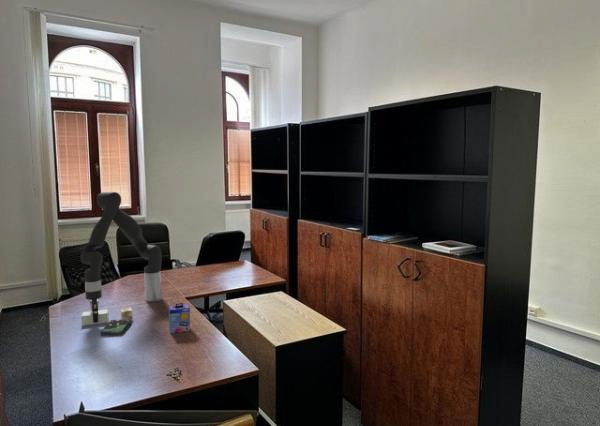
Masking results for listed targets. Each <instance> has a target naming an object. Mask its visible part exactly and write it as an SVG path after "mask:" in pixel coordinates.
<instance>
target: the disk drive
mask: <svg viewBox="0 0 600 426" xmlns="http://www.w3.org/2000/svg"><path fill="white" fill-rule="evenodd" d="M132 322H133V321H132V320H122V319H119V320H117V319H111V320H110V321H108V323H106V325H105V326H104V327H103V328H102V329H101V330H100V336H101V337H102V336H103V337H104V336H108V337H109V336H123V335H124V334H125V332H126V331H127V330H128V329H129V327H130V326H131V325H132V324H133V323H132Z"/></svg>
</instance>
